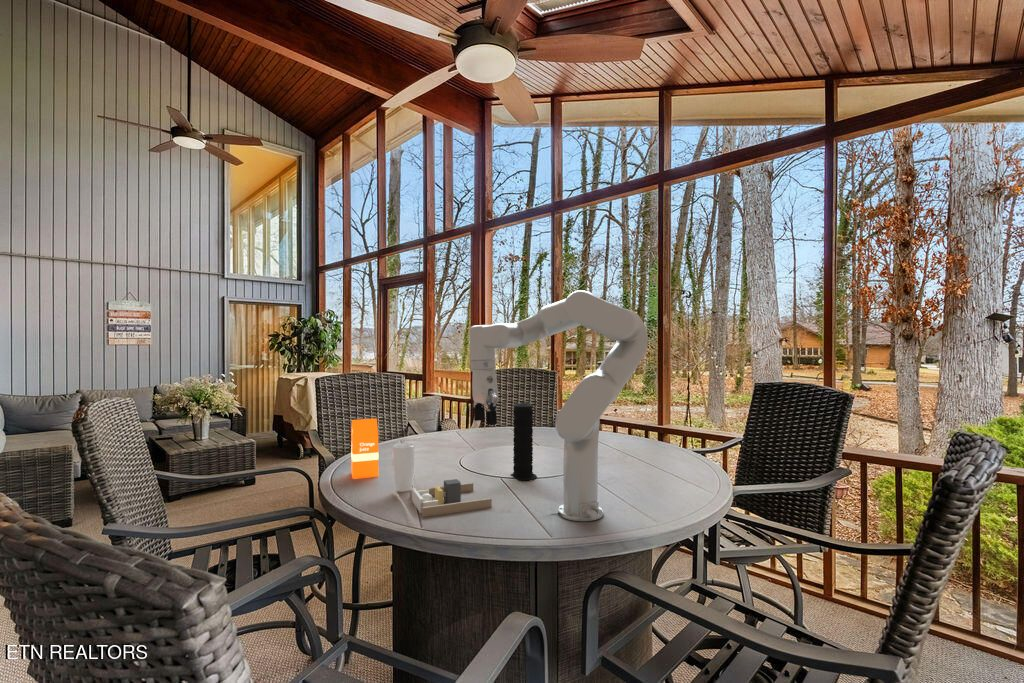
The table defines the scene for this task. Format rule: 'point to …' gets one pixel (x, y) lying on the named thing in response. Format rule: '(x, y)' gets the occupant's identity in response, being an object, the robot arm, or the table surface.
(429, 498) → the ball
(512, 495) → the table surface
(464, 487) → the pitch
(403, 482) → the drinking glass
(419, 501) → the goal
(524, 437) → the handle grip
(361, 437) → the orange juice
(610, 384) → the robot arm
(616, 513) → the table surface
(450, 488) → the grey cube yellow base
